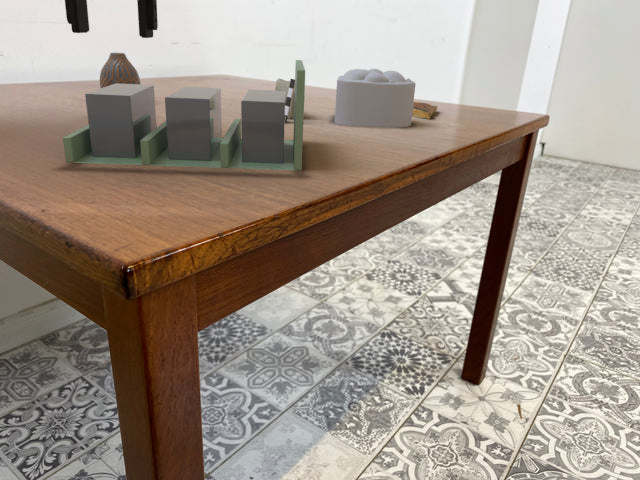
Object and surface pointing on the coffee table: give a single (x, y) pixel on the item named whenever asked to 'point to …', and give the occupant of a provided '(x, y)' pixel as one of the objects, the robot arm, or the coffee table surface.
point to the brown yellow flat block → (423, 110)
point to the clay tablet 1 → (193, 123)
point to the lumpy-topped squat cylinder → (374, 99)
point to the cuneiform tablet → (287, 96)
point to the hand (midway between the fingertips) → (113, 33)
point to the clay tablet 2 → (263, 126)
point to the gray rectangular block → (120, 119)
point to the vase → (118, 71)
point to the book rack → (224, 157)
